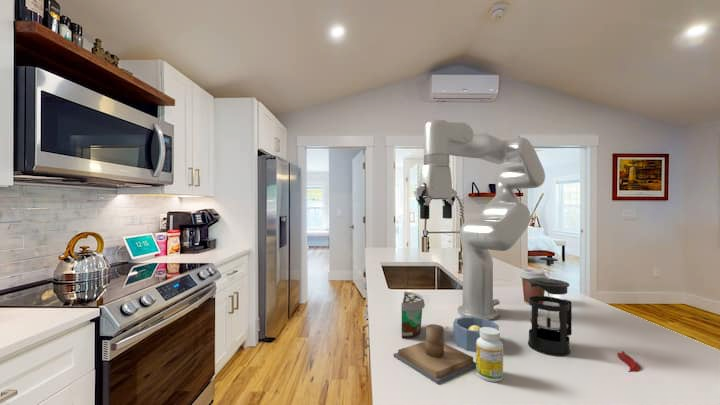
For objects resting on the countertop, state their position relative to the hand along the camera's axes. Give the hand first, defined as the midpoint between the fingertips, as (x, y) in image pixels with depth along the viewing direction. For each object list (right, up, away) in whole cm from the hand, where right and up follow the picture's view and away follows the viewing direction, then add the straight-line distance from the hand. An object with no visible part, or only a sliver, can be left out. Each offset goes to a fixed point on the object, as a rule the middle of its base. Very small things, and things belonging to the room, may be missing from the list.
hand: (436, 218), depth 95 cm
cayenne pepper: (+40, -33, -22) cm, 56 cm away
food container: (-8, -32, -5) cm, 34 cm away
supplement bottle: (+5, -32, -28) cm, 43 cm away
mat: (-6, -32, -22) cm, 39 cm away
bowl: (+8, -32, -12) cm, 35 cm away
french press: (+26, -33, -14) cm, 44 cm away
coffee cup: (+42, -33, +23) cm, 58 cm away
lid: (-6, -31, -22) cm, 39 cm away
